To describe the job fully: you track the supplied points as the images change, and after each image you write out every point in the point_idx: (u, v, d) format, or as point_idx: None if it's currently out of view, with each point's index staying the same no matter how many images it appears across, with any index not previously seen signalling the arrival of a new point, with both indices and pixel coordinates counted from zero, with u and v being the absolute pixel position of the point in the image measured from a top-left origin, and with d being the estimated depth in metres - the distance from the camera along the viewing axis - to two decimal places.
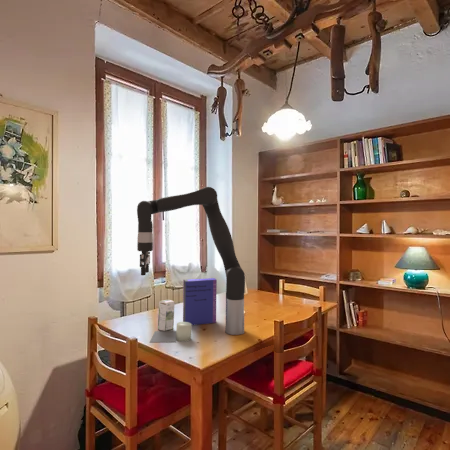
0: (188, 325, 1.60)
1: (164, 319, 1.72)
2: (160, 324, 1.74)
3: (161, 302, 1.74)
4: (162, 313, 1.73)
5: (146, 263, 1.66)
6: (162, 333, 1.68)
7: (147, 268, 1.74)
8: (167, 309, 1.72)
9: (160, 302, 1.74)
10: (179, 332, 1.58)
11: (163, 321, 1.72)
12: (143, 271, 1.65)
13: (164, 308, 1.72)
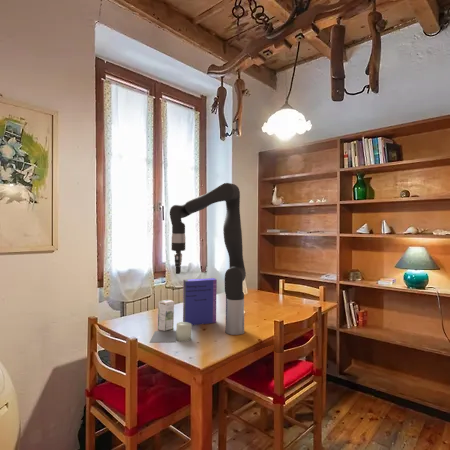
0: (188, 325, 1.60)
1: (164, 319, 1.72)
2: (160, 324, 1.74)
3: (161, 302, 1.74)
4: (161, 313, 1.73)
5: (180, 262, 1.84)
6: (162, 333, 1.68)
7: (179, 268, 1.89)
8: (167, 309, 1.72)
9: (160, 302, 1.74)
10: (179, 332, 1.59)
11: (163, 321, 1.72)
12: (178, 270, 1.83)
13: (164, 308, 1.72)
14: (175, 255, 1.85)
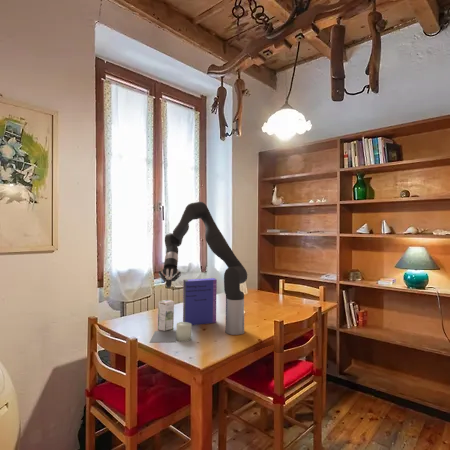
0: (188, 325, 1.60)
1: (164, 319, 1.72)
2: (160, 324, 1.74)
3: (161, 302, 1.74)
4: (161, 313, 1.73)
5: (167, 276, 1.89)
6: (162, 333, 1.68)
7: (168, 282, 1.86)
8: (167, 309, 1.72)
9: (160, 302, 1.74)
10: (179, 332, 1.59)
11: (163, 321, 1.72)
12: (166, 283, 1.86)
13: (164, 308, 1.72)
14: None
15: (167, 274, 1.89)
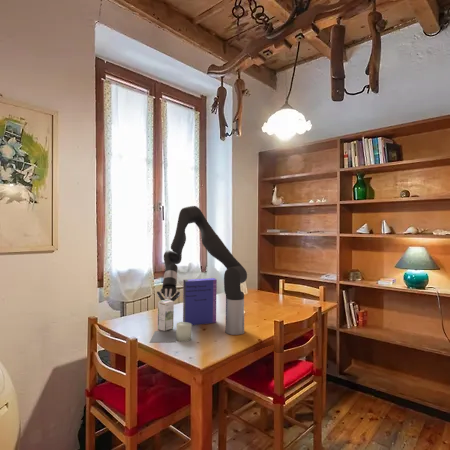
0: (188, 325, 1.60)
1: (164, 319, 1.71)
2: (159, 324, 1.74)
3: (160, 302, 1.73)
4: (161, 313, 1.73)
5: (166, 296, 1.82)
6: (162, 333, 1.68)
7: None
8: (166, 309, 1.72)
9: (159, 302, 1.74)
10: (179, 332, 1.59)
11: (163, 321, 1.72)
12: None
13: (163, 308, 1.71)
14: None
15: (166, 294, 1.83)
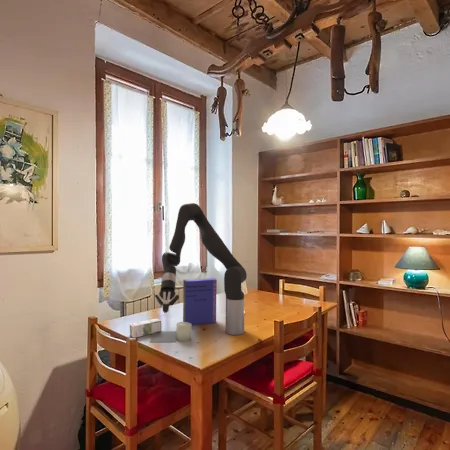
0: (188, 325, 1.60)
1: None
2: None
3: None
4: None
5: (164, 299, 1.76)
6: (162, 333, 1.68)
7: (165, 307, 1.73)
8: (140, 334, 1.64)
9: None
10: (179, 332, 1.59)
11: None
12: (163, 308, 1.74)
13: None
14: None
15: (164, 298, 1.76)
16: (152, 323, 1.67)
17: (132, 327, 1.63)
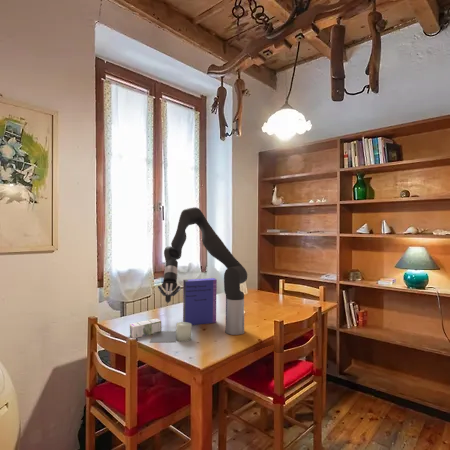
0: (188, 325, 1.60)
1: None
2: None
3: None
4: None
5: (167, 290, 1.88)
6: (162, 333, 1.68)
7: (168, 297, 1.85)
8: (140, 334, 1.64)
9: None
10: (179, 332, 1.59)
11: None
12: None
13: None
14: None
15: (166, 289, 1.88)
16: (152, 323, 1.67)
17: (132, 328, 1.62)
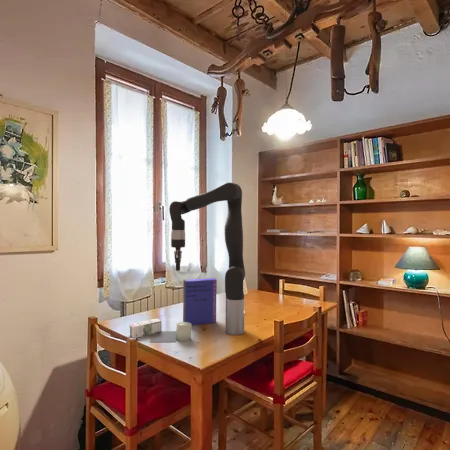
0: (188, 325, 1.60)
1: None
2: None
3: None
4: None
5: (180, 259, 1.84)
6: (162, 333, 1.68)
7: None
8: (140, 334, 1.64)
9: None
10: (179, 332, 1.59)
11: None
12: (178, 267, 1.83)
13: None
14: None
15: None
16: (152, 323, 1.67)
17: (132, 328, 1.62)
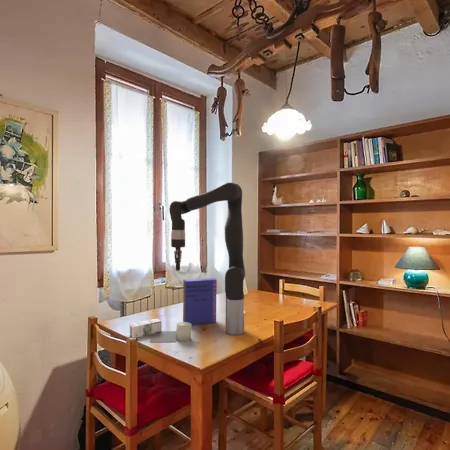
0: (188, 325, 1.60)
1: None
2: None
3: None
4: None
5: (180, 259, 1.84)
6: (162, 333, 1.68)
7: None
8: (140, 334, 1.64)
9: None
10: (179, 332, 1.59)
11: None
12: (178, 267, 1.83)
13: None
14: None
15: None
16: (152, 323, 1.67)
17: (132, 328, 1.62)
